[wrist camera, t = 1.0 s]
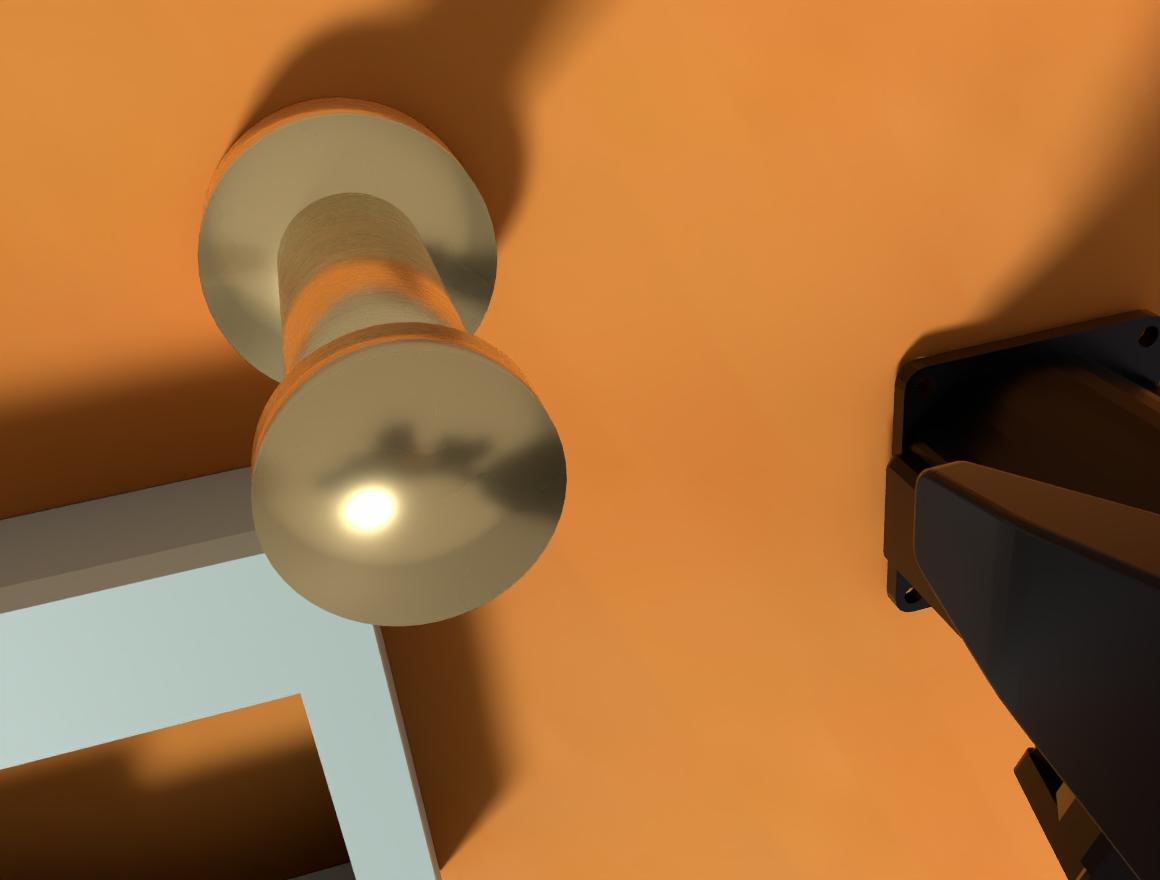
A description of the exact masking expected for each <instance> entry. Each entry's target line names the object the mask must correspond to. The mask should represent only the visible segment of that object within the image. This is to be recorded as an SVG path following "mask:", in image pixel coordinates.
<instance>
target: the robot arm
mask: <svg viewBox="0 0 1160 880" xmlns="http://www.w3.org/2000/svg"><path fill="white" fill-rule="evenodd" d="M1145 328H1146V329H1145ZM1144 329H1145V332H1144V334H1143V335H1142V336H1141V337H1140V339H1139V336H1140V334H1141V332H1142V331H1143V330H1144ZM924 377H926V381H925V384H924V385H923V386H922V387H921V388H920V389H918V390H916V391H915V387H916V384H917V383H918V382H919V381H920V379H922V378H924ZM1159 382H1160V316H1158V315H1156V314H1154V313H1152V312H1150V311H1148V310H1137V311H1132V312H1128V313H1123V314H1119V315H1114V316H1110V317H1105V318H1101V319H1096V320H1092V321H1087V322H1082V323H1078V324H1073V325H1069V326H1064V327H1060V328H1055V329H1051V330H1046V331H1042V332H1037V333H1033V334H1028V335H1024V336H1019V337H1015V338H1010V339H1006V340H1001V341H997V342H992V343H988V344H983V345H979V346H974V347H970V348H965V349H961V350H956V351H952V352H947V353H943V354H938V355H934V356H929V357H925V358H920V359H916V360H914V361H911V362H909V363H908V364H906V365H905V366H904V367H903V368H902V369H901V370H900V372H899V374H898V375H897V377H896V382H895V391H894V417H893V443H892V457H891V459H890V461H889V463H888V465H887V468H886V495H885V523H884V550H883V552H884V556H885V557H886V559H887V560H888V571H887V594H888V597H889V598H890V599H891V600H892V601H893V603H894V604H895V605H896V606H897V607H898V608H899V609H900V610H901V611H904V612H913V611H917V610H921V609H924V608H928V607H933V609H934V610H935V611H936V612H937V613H938V614H939V615H940V616H941V617H942V618H943V619H944V620H945V621H946V622H947V623H948V624H949V626H950V627H951V628H952V629H953V630H954V631H955V632H956V633H957V634H958V635H959V636H960V637H961V638H962V639H963V641H964V643H965V644H966V646H967V648H968V649H969V651H970V653H971V654H972V656H973V657H974V659H975V661H976V662H977V664H978V666H979V667H980V669H981V671H982V672H983V674H984V675H985V677H986V679H987V680H988V682H989V683H990V685H991V686H992V688H993V689H994V691H995V692H996V694H997V695H998V697H999V698H1000V700H1001V701H1002V702H1003V704H1004V705H1005V706H1006V708H1007V709H1008V710H1009V712H1010V713H1011V715H1012V716H1013V717H1014V719H1015V720H1016V721H1017V722H1018V724H1019V725H1020V726H1021V728H1022V729H1023V730H1024V732H1025V733H1026V734H1027V735H1028V737H1029V738H1030V739H1031V741H1032V742H1033V743H1034V744H1035V747H1034V748H1028V749H1027V750H1026V752H1025V753H1024V755H1023V756H1022V758H1021V759H1020V761H1019V762H1018V764H1017V765H1016V767H1015V768H1014V773H1015V775H1016V777H1017V779H1018V781H1019V783H1020V785H1021V787H1022V789H1023V791H1024V793H1025V795H1026V797H1027V799H1028V801H1029V803H1030V805H1031V807H1032V809H1033V811H1034V813H1035V815H1036V817H1037V819H1038V821H1039V823H1040V825H1041V827H1042V829H1043V831H1044V833H1045V835H1046V837H1047V839H1048V841H1049V843H1050V845H1051V847H1052V849H1053V851H1054V853H1055V855H1056V857H1057V859H1058V861H1059V863H1060V864H1061V866H1062V868H1063V870H1064V872H1065V874H1066V876H1067V878H1068V880H1160V384H1159ZM912 587H914V588H913V589H912V590H911V591H910V592H908V593H906V592H907V591H908V590H909V589H910V588H912Z"/></svg>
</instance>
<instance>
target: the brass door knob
mask: <svg viewBox="0 0 1160 880" xmlns="http://www.w3.org/2000/svg"><path fill="white" fill-rule="evenodd" d="M198 265H199V276H200V281H201V285H202V290H203V294H204V297H205V300H206V302H207V305H208V308H209V310H210V313H211V314H212V316H213V318H214V320H215V322H216V324H217V326H218V328H219V329H220V331H221V332H222V333H223V335H224V336H225V338H226V339H227V340H228V342H229V343H230V344H231V345H232V346H233V348H234V349H235V350H236V351H237V352H238V353H239V354H240V355H241V356H242V357H243V358H244V359H245V360H246V361H248V362H249V363H250V364H251V365H252V366H254V367H255V368H256V369H257V370H259V371H260V372H262V373H264V374H265V375H267V376H268V377H270V378H271V379H273V380H275V381H277V382H279V383H280V384H279V385H278V386H277V388H276V389H275V390H274V392H273V394H272V395H271V397H270V399H269V400H268V402H267V404H266V405H265V407H264V410H263V412H262V415H261V417H260V419H259V422H258V425H257V428H256V432H255V436H254V440H253V448H252V458H251V498H252V515H253V520H254V525H255V530H256V534H257V536H258V539H259V541H260V544H261V547H262V549H263V551H264V553H265V555H266V556H267V558H268V560H269V562H270V563H271V565H272V567H273V568H274V569H275V570H276V572H277V573H278V574H279V575H280V577H281V578H282V579H283V580H284V581H285V582H286V583H287V584H288V585H289V586H290V587H291V588H292V589H293V590H294V591H295V592H296V593H298V594H299V595H301V596H302V597H303V598H305V599H306V600H308V601H309V602H310V603H312V604H314V605H316V606H318V607H319V608H321V609H323V610H325V611H327V612H329V613H332V614H334V615H337V616H340V617H342V618H345V619H349V620H353V621H357V622H361V623H365V624H372V625H380V626H412V625H423V624H428V623H433V622H438V621H442V620H446V619H449V618H452V617H456V616H459V615H461V614H464V613H466V612H468V611H471V610H473V609H476V608H478V607H480V606H481V605H483V604H485V603H487V602H489V601H490V600H492V599H494V598H495V597H497V596H498V595H500V594H501V593H503V592H504V591H505V590H507V589H508V588H510V587H511V586H512V585H513V584H514V583H515V582H516V581H518V580H519V579H520V578H521V577H522V576H523V575H524V574H525V573H526V572H527V571H528V570H529V569H530V567H531V566H532V565H533V564H534V563H535V562H536V561H537V559H538V558H539V556H540V555H541V554H542V552H543V551H544V549H545V548H546V546H547V545H548V543H549V541H550V539H551V537H552V535H553V533H554V532H555V529H556V527H557V524H558V521H559V519H560V516H561V513H562V509H563V504H564V500H565V493H566V482H567V477H566V462H565V457H564V452H563V447H562V444H561V441H560V438H559V436H558V433H557V430H556V428H555V426H554V424H553V423H552V421H551V419H550V417H549V415H548V413H547V412H546V410H545V408H544V406H543V405H542V403H541V401H540V399H539V397H538V396H537V394H536V392H535V390H534V388H533V387H532V385H531V383H530V382H529V380H528V379H527V378H526V376H525V375H524V374H523V372H522V371H521V370H520V369H519V368H518V367H517V366H516V365H515V364H514V363H513V362H512V361H511V360H510V359H509V358H508V357H507V356H506V355H505V354H503V353H502V352H501V351H499V350H498V349H497V348H495V347H494V346H493V345H491V344H489V343H487V342H485V341H484V340H482V339H480V338H478V337H476V336H474V333H475V332H476V330H477V328H478V327H479V325H480V323H481V321H482V319H483V317H484V315H485V313H486V311H487V309H488V306H489V303H490V300H491V296H492V293H493V289H494V284H495V278H496V269H497V249H496V238H495V233H494V229H493V224H492V220H491V217H490V215H489V212H488V209H487V206H486V204H485V202H484V200H483V198H482V196H481V194H480V192H479V190H478V188H477V186H476V185H475V184H474V182H473V181H472V179H471V178H470V177H469V175H468V174H467V172H466V171H465V170H464V168H463V167H462V165H461V164H460V163H459V161H458V160H457V159H456V157H455V156H454V155H453V153H452V152H451V151H450V150H449V148H448V147H447V146H446V145H445V144H444V143H443V142H442V141H441V140H440V139H439V138H438V137H437V136H436V135H435V134H434V133H433V132H431V131H430V130H429V129H428V128H427V127H425V126H424V125H423V124H421V123H420V122H418V121H416V120H415V119H413V118H412V117H410V116H409V115H407V114H404V113H402V112H400V111H398V110H396V109H394V108H392V107H389V106H386V105H383V104H379V103H376V102H373V101H368V100H362V99H356V98H341V97H332V98H321V99H313V100H309V101H304V102H300V103H296V104H293V105H291V106H288V107H285V108H283V109H280V110H278V111H276V112H274V113H272V114H271V115H269V116H267V117H265V118H263V119H262V120H260V121H259V122H258V123H256V124H255V125H253V126H252V127H251V128H249V129H248V130H247V131H246V132H245V133H244V134H243V135H242V136H241V137H240V138H239V139H238V140H237V141H236V142H235V143H234V144H233V145H232V146H231V148H230V149H229V150H228V152H227V153H226V154H225V156H224V157H223V158H222V160H221V162H220V164H219V165H218V167H217V169H216V171H215V173H214V174H213V177H212V180H211V182H210V185H209V188H208V190H207V194H206V198H205V203H204V207H203V213H202V220H201V227H200V234H199V246H198Z"/></svg>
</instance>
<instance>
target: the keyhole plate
mask: <svg viewBox="0 0 1160 880" xmlns="http://www.w3.org/2000/svg"><path fill="white" fill-rule="evenodd" d="M299 693H300V694H301V697H302V700H303V704H304V707H305V710H306V714H307V717H308V720H309V724H310V727H311V730H312V734H313V737H314V740H315V744H316V747H317V750H318V754H319V757H320V760H321V764H322V767H323V770H324V774H325V777H326V780H327V784H328V787H329V791H330V794H331V797H332V801H333V804H334V807H335V811H336V814H337V817H338V821H339V824H340V827H341V831H342V834H343V837H344V841H345V844H346V847H347V851H348V854H349V857H350V861H351V862H349V863H346V864H342V865H339V866H335V867H331V868H328V869H324V870H321V871H317V872H314V873H310V874H307V875H303V876H300V877H296V878H293V879H289V880H442V879H441V874H440V870H439V865H438V861H437V857H436V853H435V849H434V845H433V841H432V837H431V833H430V828H429V824H428V820H427V816H426V812H425V808H424V804H423V800H422V796H421V791H420V787H419V783H418V779H417V775H416V771H415V767H414V763H413V759H412V754H411V750H410V746H409V742H408V738H407V734H406V730H405V726H404V722H403V717H402V713H401V709H400V705H399V701H398V697H397V693H396V689H395V684H394V680H393V676H392V672H391V668H390V664H389V660H388V656H387V652H386V647H385V643H384V639H383V635H382V631H381V627H380V625H372V624H365V623H361V622H357V621H353V620H349V619H345V618H342V617H340V616H337V615H334V614H332V613H329V612H327V611H325V610H323V609H321V608H319V607H318V606H316V605H314V604H312V603H310V602H309V601H308V600H306V599H305V598H303V597H302V596H301V595H299V594H298V593H296V592H295V591H294V590H293V589H292V588H291V587H290V586H289V585H288V584H287V583H286V582H285V581H284V580H283V579H282V578H281V577H280V575H279V574H278V573H277V572H276V570H275V569H274V568H273V567H272V565H271V563H270V562H269V560H268V558H267V556H266V555H265V553H264V551H263V549H262V547H261V544H260V541H259V539H258V536H257V534H256V530H255V525H254V520H253V515H252V498H251V466H250V467H245V468H241V469H236V470H231V471H227V472H222V473H217V474H213V475H208V476H204V477H199V478H194V479H190V480H185V481H180V482H176V483H171V484H166V485H162V486H157V487H152V488H148V489H143V490H138V491H134V492H129V493H125V494H120V495H115V496H111V497H106V498H101V499H97V500H92V501H87V502H83V503H78V504H73V505H69V506H64V507H59V508H55V509H50V510H46V511H41V512H36V513H32V514H27V515H22V516H18V517H13V518H8V519H4V520H0V770H1V769H5V768H9V767H12V766H16V765H20V764H24V763H28V762H32V761H36V760H40V759H44V758H48V757H52V756H56V755H60V754H64V753H67V752H71V751H75V750H79V749H83V748H87V747H91V746H95V745H99V744H103V743H107V742H111V741H115V740H119V739H122V738H126V737H130V736H134V735H138V734H142V733H146V732H150V731H154V730H158V729H162V728H166V727H170V726H173V725H177V724H181V723H185V722H189V721H193V720H197V719H201V718H205V717H209V716H213V715H217V714H221V713H225V712H228V711H232V710H236V709H240V708H244V707H248V706H252V705H256V704H260V703H264V702H268V701H272V700H276V699H280V698H283V697H287V696H291V695H295V694H299Z"/></svg>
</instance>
